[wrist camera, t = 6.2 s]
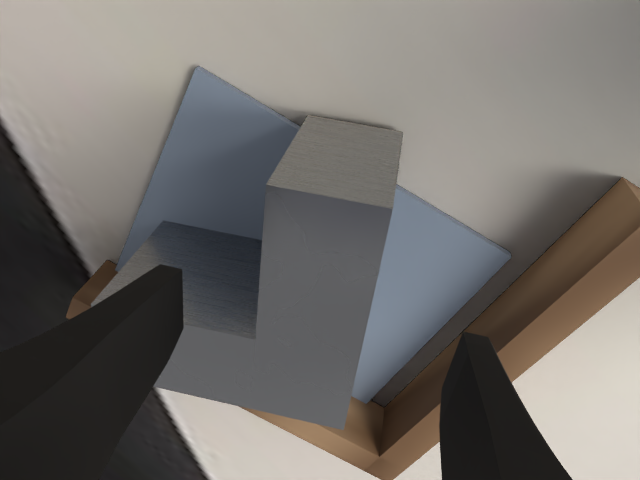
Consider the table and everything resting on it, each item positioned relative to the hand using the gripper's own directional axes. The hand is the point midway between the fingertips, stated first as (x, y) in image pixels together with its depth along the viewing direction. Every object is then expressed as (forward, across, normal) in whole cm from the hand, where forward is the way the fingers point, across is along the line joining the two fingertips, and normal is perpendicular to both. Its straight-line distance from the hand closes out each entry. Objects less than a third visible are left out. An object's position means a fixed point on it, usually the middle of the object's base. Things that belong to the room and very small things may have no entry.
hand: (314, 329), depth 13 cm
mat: (+6, +2, +2) cm, 7 cm away
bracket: (+6, +3, +1) cm, 6 cm away
